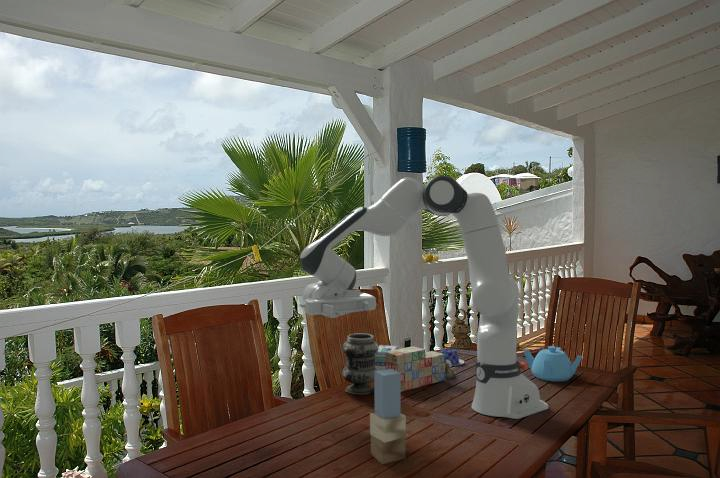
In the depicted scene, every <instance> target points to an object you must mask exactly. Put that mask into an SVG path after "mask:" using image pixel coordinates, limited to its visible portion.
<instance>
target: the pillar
mask: <svg viewBox="0 0 720 478" xmlns="http://www.w3.org/2000/svg"><path fill="white" fill-rule="evenodd" d="M373 382H374V386H373V387H374V392H373V393H374V412H375V414H377V415H378V416H380V417H381V418H382V419H387V418H393V417H399V416H401V414H402V412H401V403H402V402H401V392H402V391H401V388H400V373H399V372H397V371H395V370H393V369H385V370H378V371H374V381H373Z"/></svg>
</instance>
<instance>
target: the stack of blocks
mask: <svg viewBox="0 0 720 478" xmlns="http://www.w3.org/2000/svg"><path fill="white" fill-rule="evenodd" d="M386 369H393V370H395V371H397V372H399V373H400V388H401V392H404V391H409V390H413V389H417V388H421V387H423V386H424V387H425V386H427V385H428V386H429V385H431V384H435V383H440V382H443V381H446V379H445V354H442V353H441V352H438V351H434V350H431V351H426V349H425V348H423V347H422V348H421V347H417V346H409V347H401V348H399V349H398V350H393V351H387V352H386Z"/></svg>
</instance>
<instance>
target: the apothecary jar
mask: <svg viewBox="0 0 720 478" xmlns="http://www.w3.org/2000/svg"><path fill="white" fill-rule="evenodd" d="M374 339H375V338H374V335H373V334H369V333H363V332H361V333H360V332H359V333H358V332H357V333H352V334H351V333H350V334H348V335H347V338H346V341H345V342H344V343H343V344H342V348H341V349H342V352H343V353H344V354H345V366H344V367H343V369H342V371H341V376H342V378H343V379H344V380H345V381H346V382H348V383H351V384H350V385H348V386H347V387H345V389H344V391H345V392H346V393H347V392H348V394H350V393H351V395H359V396H363V395H370V394H371V393H374V386H373V385H370V384H369V383H372V382H374V371H378V370H377V368H376V367H375V353H377V351H378V349H379V345H378V343H377V342H376V341H375V340H374Z"/></svg>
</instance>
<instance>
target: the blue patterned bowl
mask: <svg viewBox="0 0 720 478" xmlns="http://www.w3.org/2000/svg"><path fill="white" fill-rule="evenodd" d="M440 353H442V354H445V362H446V359H448V360H450V361H451V365H452V366H453V367H454V366H460V365H463V364H464V363H465V361H464V360H463V359H460V358H459V355H458V352H457V350H456V349H454V348H443V349H441V351H440Z"/></svg>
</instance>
